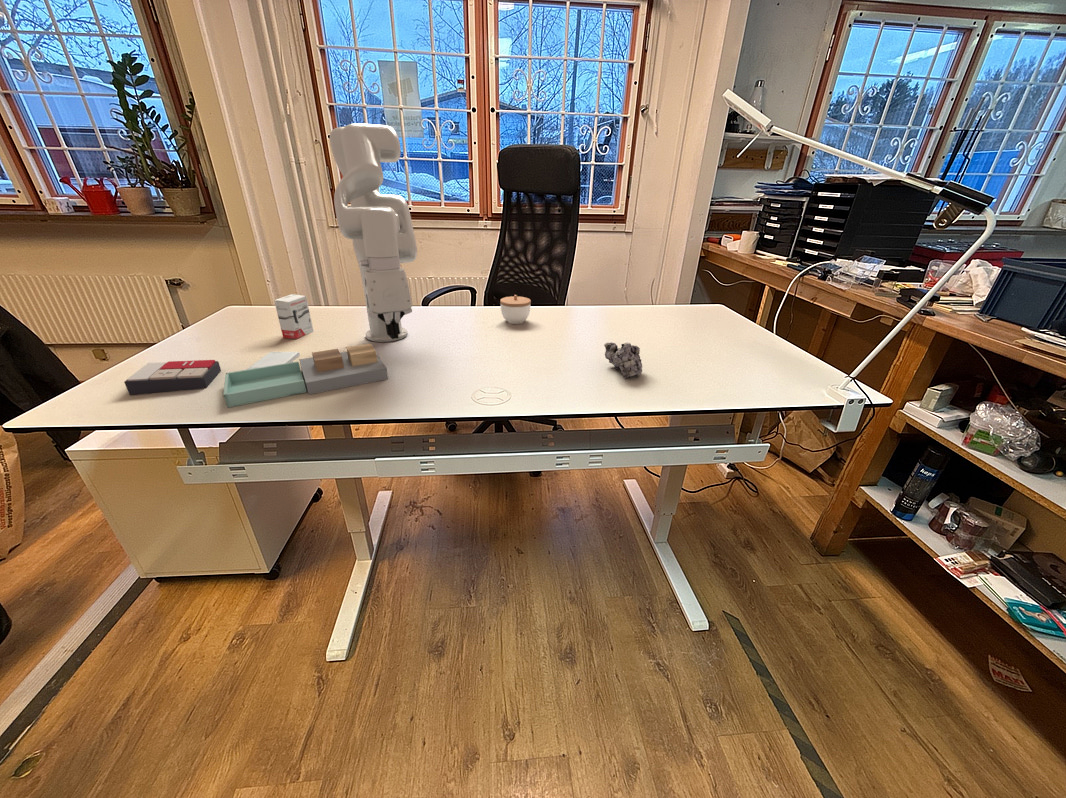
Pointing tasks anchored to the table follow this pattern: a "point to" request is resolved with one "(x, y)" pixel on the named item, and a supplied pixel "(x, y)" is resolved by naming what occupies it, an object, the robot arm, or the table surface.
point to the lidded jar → (515, 309)
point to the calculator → (173, 376)
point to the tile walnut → (327, 360)
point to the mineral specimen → (624, 358)
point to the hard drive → (275, 359)
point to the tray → (263, 384)
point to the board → (341, 374)
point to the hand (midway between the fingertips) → (393, 337)
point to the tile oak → (361, 354)
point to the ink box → (294, 316)
